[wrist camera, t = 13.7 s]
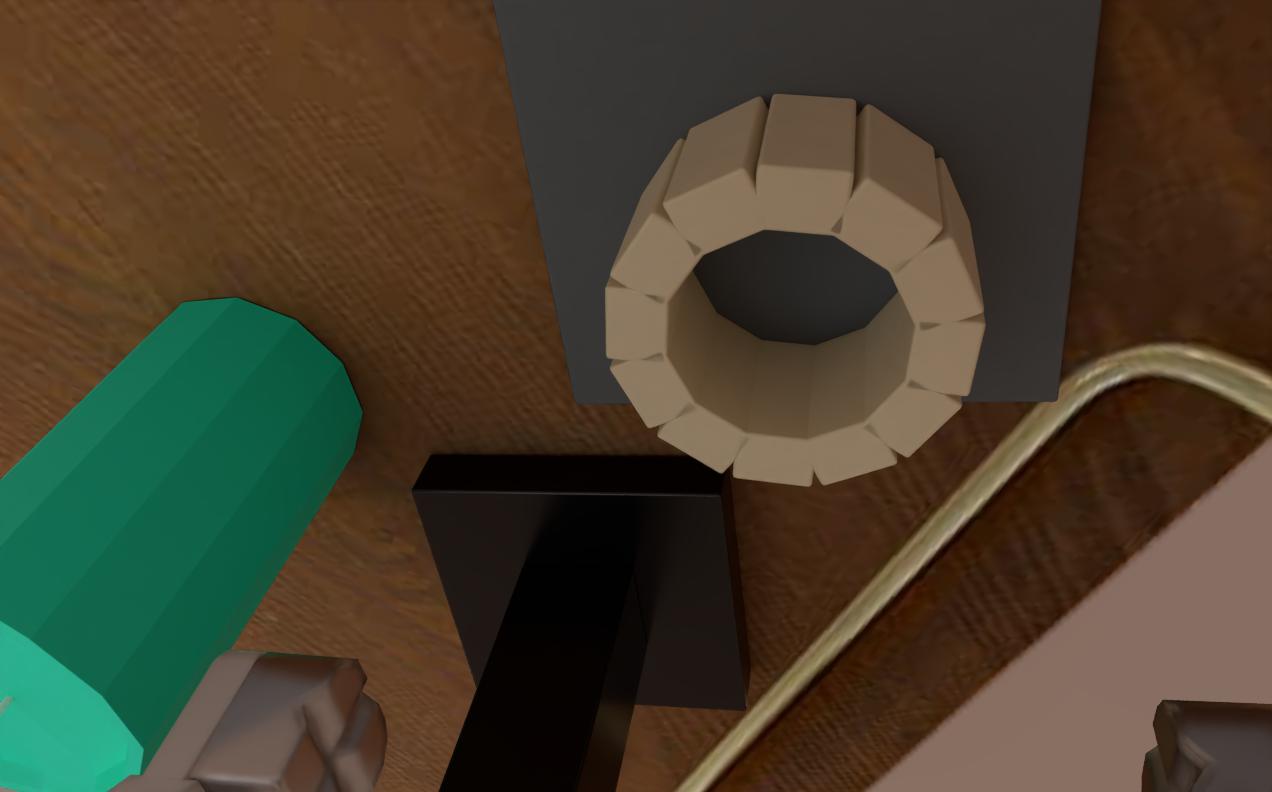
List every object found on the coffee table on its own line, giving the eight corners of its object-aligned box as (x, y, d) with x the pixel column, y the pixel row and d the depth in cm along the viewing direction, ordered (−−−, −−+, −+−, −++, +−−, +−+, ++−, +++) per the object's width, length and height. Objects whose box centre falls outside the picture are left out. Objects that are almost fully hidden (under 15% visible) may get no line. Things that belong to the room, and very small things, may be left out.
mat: (495, -33, 20) (486, -25, 20) (1106, -96, 18) (1112, -88, 17) (579, 391, 26) (574, 405, 26) (1054, 387, 24) (1058, 403, 23)
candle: (400, 385, 27) (140, 801, 17) (312, 514, 30) (54, 921, 21) (187, 252, 26) (-220, 621, 16) (120, 402, 29) (-247, 780, 20)
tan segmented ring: (638, 82, 21) (602, 153, 18) (998, 106, 20) (1019, 186, 17) (636, 369, 25) (606, 463, 22) (935, 401, 24) (943, 504, 21)
